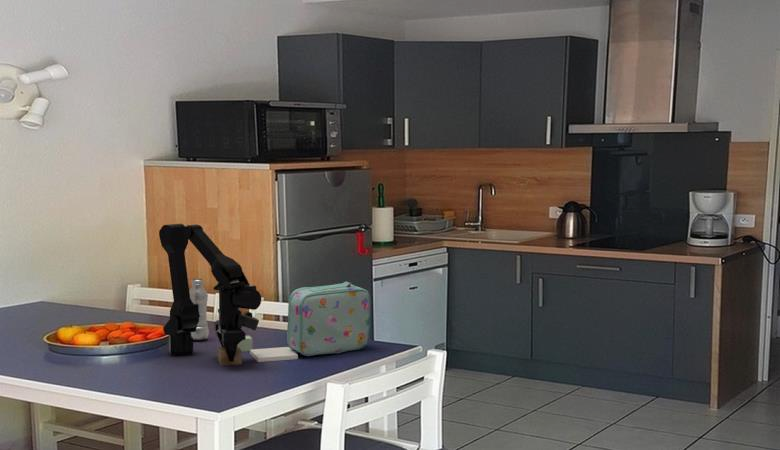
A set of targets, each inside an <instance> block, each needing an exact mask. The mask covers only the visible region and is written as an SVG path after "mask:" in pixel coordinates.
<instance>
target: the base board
mask: <svg viewBox="0 0 780 450" xmlns="http://www.w3.org/2000/svg"><path fill="white" fill-rule="evenodd" d="M249 354H250V355H251V356H252V357H253V358H254V359H255V361H256V362H257V363H264V362H274V361H275V362H277V361H287V360H288V361H289V360H298V359H299V355H298V354H297V353H296V351H294V350H292V349H291V348H290V347H289V346H283V347H282V346H281V347H280V346H279V347H270V348H269V347H268V348H255V349H254V348H253V349H251V350H250V351H249Z"/></svg>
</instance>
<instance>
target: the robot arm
mask: <svg viewBox="0 0 780 450" xmlns="http://www.w3.org/2000/svg"><path fill="white" fill-rule="evenodd" d="M158 237H159V241H160V245H161V247H162V248H163V250H164V251H165V253H166V254H167V258H168V266H169V274H170V282H171V283H170V284H171V291H172V299H173V301H172V305H171V307H170V310H169V319H168V321H167V322H166V324H164V326H163V327H162V330H163V333H164V335H166V336H169V337H168V338H169V339H168V341H169V342H168V343H169V344H168V346H169V347H168V348H169V349H168V353H169V355H170V356H187V355H193V352H194V340H193V337H192V336H191V332H196V328H197V324H198V323H199V317H200V314H199V306H198V304H194V303H193V302H192V301H191V299H190V292H189V290H190V287H189V279H188V277H189V276H188V271H187V262H186V255H185V253H186V249H187V246H188V244H189V241H190V243H191V244H192V245H193V246H194V248H195V249H196V250H197V251H198V252H199V254H200V255H201V256H202V257H203V258H204V259H205V261H206V262H207V263H208V264H209V266H210V269H211V270H210V271H211V274H212V275H213V278H214V279H215V280H216V282H217V284H216V285H215V286H214V287H213V290H214V291H218V309H217V313H218V320H217V319H216V320H215V321H214V323H213V331H215V334H216V337H217V339H218V342H219V344H220V347H224V348H225V351H226V353H227V356H228V359H229V361H230V362H233V361H234V357H235V353H236V349H237V345H238V344H239V343H240V342H241V341H243V340H246V336H247V335H246V332H245V331H244V330H243V329H242V328H247V329H250V330H252V331H257V328H258V325H259V322H260V320H259V319H258V318H257V317H255V316H253V313H252V312H250V311H245V312H244V313H242V310H240V309H244V310H252V311H256V310H257V309H259V307H260V306H261V303H262V296H261V293H260V291H259V290H257V285H250V282H249V280H248V278H247V277H246V275H245V273H244V271H243V268H242V266H241V265H240V263H238V262H237V261H236V260H234V258H232V257H229V256H227V255H225V254H224V253H223V252H222V251H221V250H220V248H219V247H218V246H217V244H215V242H214V241H213V240H212V239H211V238H210V237H209V236H208V235H207V233H206V232H205V231H204V228H203V227H202V226H201V225H200V224H188V225H184V224H183V223H173V224H172V223H170V224H164V225H162V226H161V228H160V229H159V231H158Z"/></svg>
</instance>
